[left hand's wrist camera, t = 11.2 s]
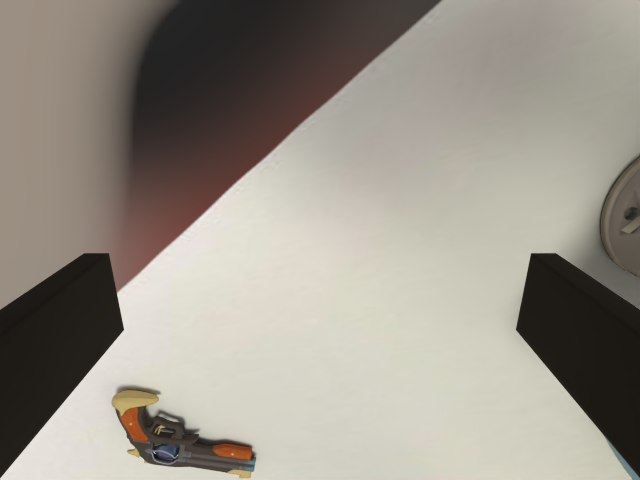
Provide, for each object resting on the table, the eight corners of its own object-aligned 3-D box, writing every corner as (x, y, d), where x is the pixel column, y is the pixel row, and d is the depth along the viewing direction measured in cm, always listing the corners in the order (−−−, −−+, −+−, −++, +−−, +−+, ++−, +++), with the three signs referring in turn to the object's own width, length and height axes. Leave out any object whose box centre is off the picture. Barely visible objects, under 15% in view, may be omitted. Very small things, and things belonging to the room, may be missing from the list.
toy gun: (109, 397, 47) (98, 466, 49) (267, 421, 50) (250, 486, 52) (118, 383, 49) (107, 449, 51) (268, 407, 52) (251, 469, 54)
